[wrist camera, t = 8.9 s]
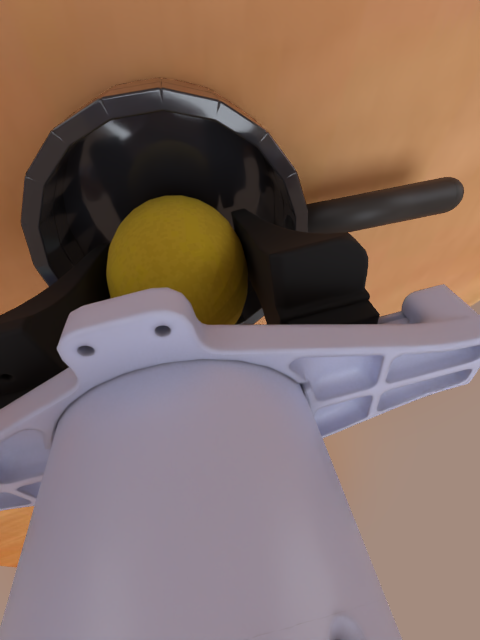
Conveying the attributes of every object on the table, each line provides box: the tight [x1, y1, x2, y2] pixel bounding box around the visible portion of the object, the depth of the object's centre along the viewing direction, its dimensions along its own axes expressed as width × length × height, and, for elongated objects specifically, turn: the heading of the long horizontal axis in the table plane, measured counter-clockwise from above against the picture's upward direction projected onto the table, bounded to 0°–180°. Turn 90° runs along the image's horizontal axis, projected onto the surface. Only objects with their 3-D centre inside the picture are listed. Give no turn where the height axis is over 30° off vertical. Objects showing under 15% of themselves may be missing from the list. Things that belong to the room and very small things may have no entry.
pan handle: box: [285, 177, 464, 234], centre depth 14 cm, size 9×2×2 cm, turn 97°
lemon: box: [106, 195, 248, 325], centre depth 12 cm, size 6×6×8 cm
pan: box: [21, 78, 308, 325], centre depth 14 cm, size 12×12×4 cm
